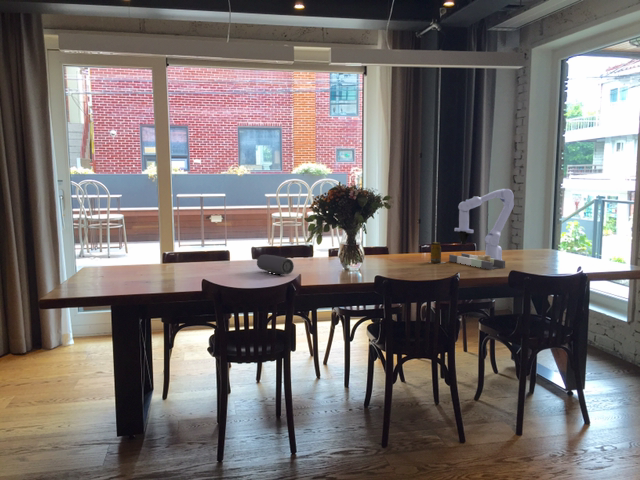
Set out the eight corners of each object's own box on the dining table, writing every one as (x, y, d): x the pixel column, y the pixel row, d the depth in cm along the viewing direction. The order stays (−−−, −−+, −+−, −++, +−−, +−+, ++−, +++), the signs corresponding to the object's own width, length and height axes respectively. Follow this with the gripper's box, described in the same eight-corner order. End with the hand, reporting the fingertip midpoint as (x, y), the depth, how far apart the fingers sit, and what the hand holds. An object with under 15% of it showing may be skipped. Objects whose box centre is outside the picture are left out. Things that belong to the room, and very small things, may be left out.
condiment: (435, 261, 329) (435, 241, 328) (446, 262, 323) (446, 242, 321) (427, 262, 325) (427, 242, 323) (438, 264, 318) (438, 244, 317)
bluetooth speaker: (294, 275, 290) (294, 257, 289) (281, 277, 284) (280, 259, 283) (269, 270, 307) (269, 252, 306) (256, 272, 301) (255, 254, 300)
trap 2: (493, 266, 308) (493, 265, 308) (502, 268, 302) (502, 267, 302) (483, 267, 305) (483, 266, 305) (492, 269, 299) (492, 268, 299)
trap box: (463, 259, 333) (463, 253, 333) (505, 267, 303) (505, 260, 302) (449, 261, 328) (449, 254, 328) (490, 269, 298) (490, 262, 298)
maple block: (484, 261, 313) (484, 254, 312) (490, 262, 308) (490, 255, 308) (477, 262, 311) (477, 255, 310) (483, 263, 306) (483, 256, 306)
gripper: (450, 221, 330) (450, 243, 331) (467, 222, 317) (466, 245, 318) (459, 220, 333) (459, 242, 334) (476, 222, 320) (476, 244, 322)
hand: (463, 244), depth 327 cm, fingers closed
